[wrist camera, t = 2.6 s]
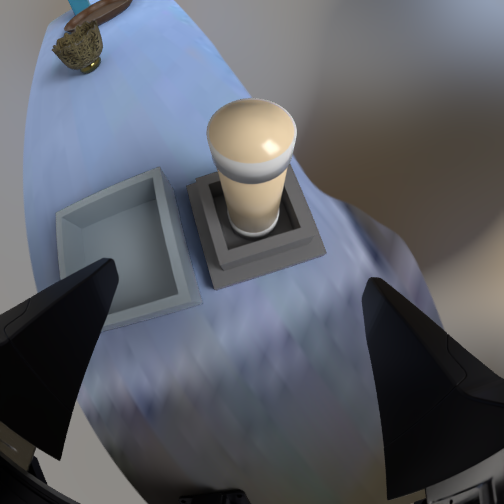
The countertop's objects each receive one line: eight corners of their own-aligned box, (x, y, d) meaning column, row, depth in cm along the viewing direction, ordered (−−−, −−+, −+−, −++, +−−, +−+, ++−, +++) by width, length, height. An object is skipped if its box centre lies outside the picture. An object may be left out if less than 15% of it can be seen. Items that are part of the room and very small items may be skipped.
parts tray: (203, 303, 21) (191, 301, 17) (96, 333, 20) (70, 334, 16) (173, 188, 23) (159, 166, 19) (79, 226, 22) (55, 212, 19)
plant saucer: (67, 27, 35) (63, 20, 32) (129, -6, 37) (127, -14, 34) (69, 47, 32) (64, 38, 29) (146, 6, 34) (142, -4, 31)
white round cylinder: (284, 231, 21) (310, 152, 10) (237, 246, 21) (219, 177, 10) (268, 189, 22) (277, 91, 11) (223, 202, 22) (198, 110, 11)
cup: (75, 90, 27) (52, 56, 20) (69, 73, 29) (50, 43, 21) (118, 62, 28) (100, 24, 20) (107, 48, 30) (91, 15, 22)
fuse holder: (323, 255, 22) (335, 245, 18) (216, 290, 21) (208, 285, 18) (285, 162, 23) (289, 140, 20) (188, 190, 23) (178, 171, 20)
